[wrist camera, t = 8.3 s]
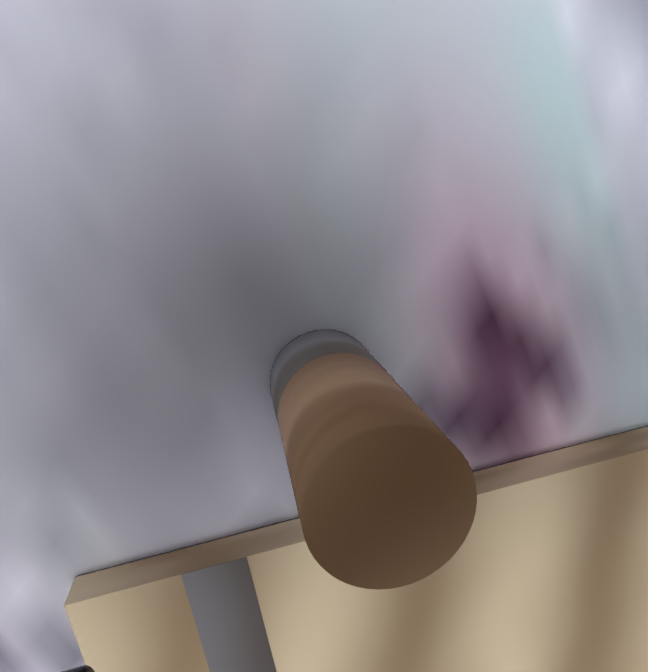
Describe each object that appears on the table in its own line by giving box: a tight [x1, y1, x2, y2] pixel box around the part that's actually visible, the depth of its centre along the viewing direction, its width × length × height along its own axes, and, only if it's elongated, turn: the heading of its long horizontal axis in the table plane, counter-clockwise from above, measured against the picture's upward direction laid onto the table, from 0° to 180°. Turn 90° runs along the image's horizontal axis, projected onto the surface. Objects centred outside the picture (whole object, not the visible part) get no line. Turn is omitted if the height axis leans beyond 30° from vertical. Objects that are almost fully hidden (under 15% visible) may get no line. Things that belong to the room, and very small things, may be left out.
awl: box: [270, 330, 477, 590], centre depth 13 cm, size 3×3×7 cm
